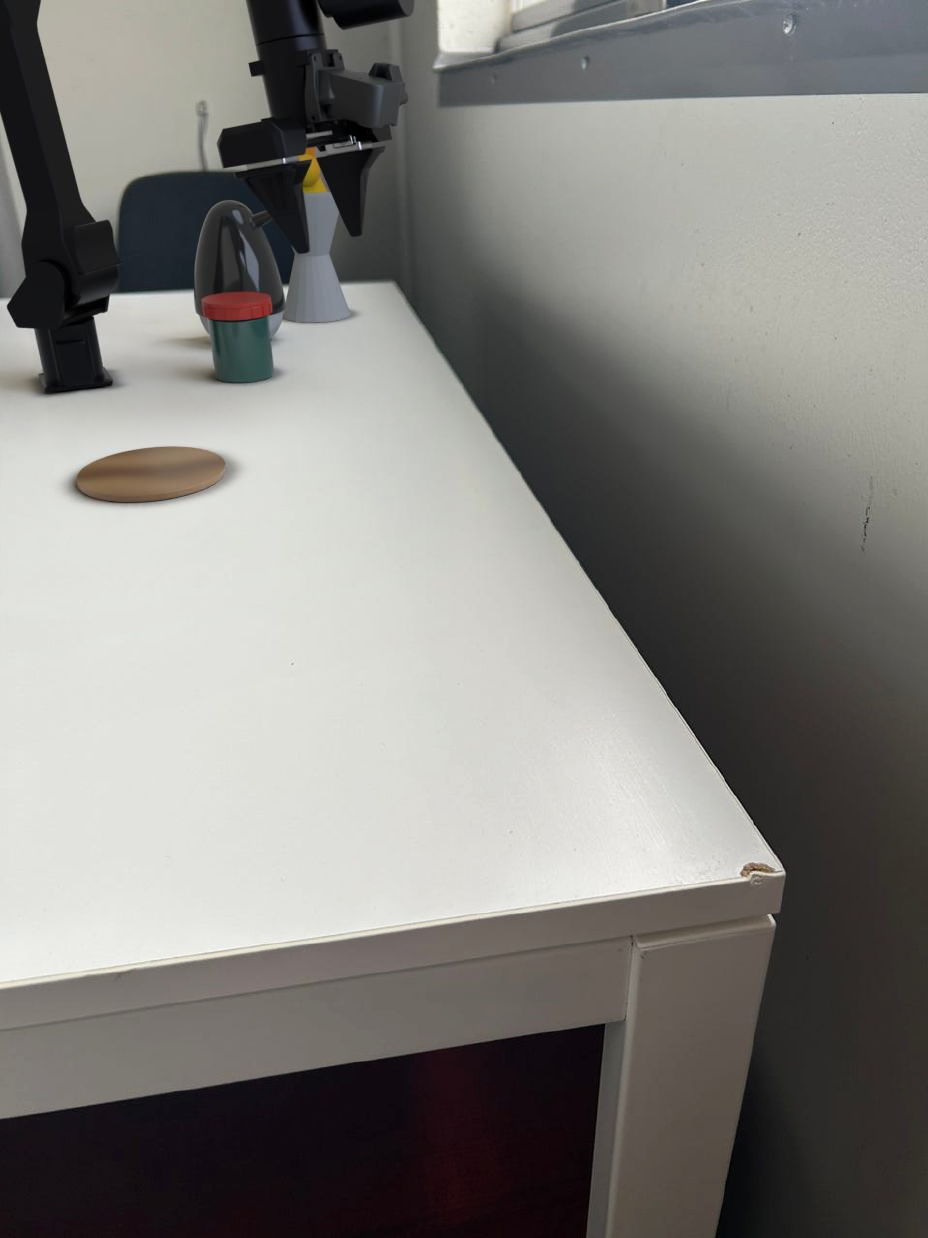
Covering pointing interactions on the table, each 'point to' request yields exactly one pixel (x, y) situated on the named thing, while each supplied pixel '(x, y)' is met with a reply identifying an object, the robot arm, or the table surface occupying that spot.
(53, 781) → the table surface
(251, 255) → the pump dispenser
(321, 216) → the lava lamp
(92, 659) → the table surface
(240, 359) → the jar
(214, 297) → the jar lid
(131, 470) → the coaster
